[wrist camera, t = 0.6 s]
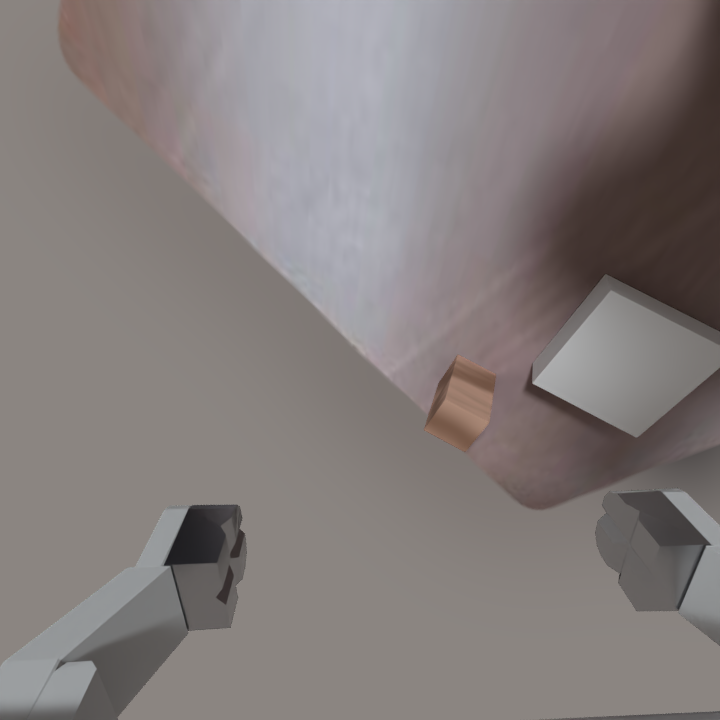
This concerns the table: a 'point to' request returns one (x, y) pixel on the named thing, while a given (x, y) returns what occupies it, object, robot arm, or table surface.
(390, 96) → the table surface
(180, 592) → the robot arm
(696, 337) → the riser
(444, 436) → the terracotta block
